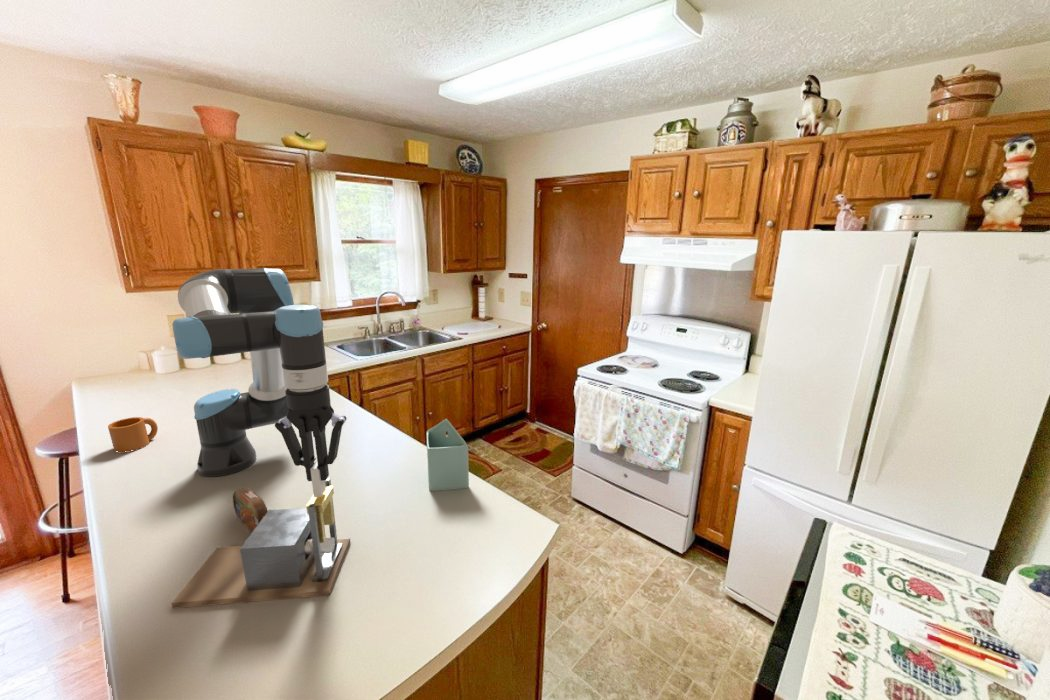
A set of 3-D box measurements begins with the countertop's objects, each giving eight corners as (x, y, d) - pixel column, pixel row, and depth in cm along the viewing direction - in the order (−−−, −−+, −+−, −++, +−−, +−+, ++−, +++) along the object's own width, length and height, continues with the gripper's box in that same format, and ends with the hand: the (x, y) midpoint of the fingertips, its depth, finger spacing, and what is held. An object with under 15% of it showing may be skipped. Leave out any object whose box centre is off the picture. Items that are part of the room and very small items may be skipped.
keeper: (311, 543, 84) (306, 506, 82) (322, 521, 91) (318, 486, 89) (326, 542, 85) (322, 505, 83) (336, 520, 91) (333, 485, 89)
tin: (234, 515, 107) (229, 486, 105) (247, 509, 109) (243, 481, 107) (259, 540, 98) (254, 509, 96) (273, 533, 101) (268, 503, 98)
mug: (164, 442, 143) (159, 418, 141) (117, 456, 134) (111, 431, 132) (157, 434, 149) (152, 411, 146) (111, 447, 139) (105, 423, 137)
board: (172, 608, 80) (171, 602, 79) (217, 552, 94) (217, 547, 94) (329, 595, 83) (328, 590, 83) (350, 543, 98) (349, 538, 97)
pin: (246, 573, 85) (242, 548, 83) (261, 552, 91) (257, 528, 89) (329, 567, 87) (326, 543, 85) (338, 546, 93) (335, 524, 91)
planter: (410, 481, 123) (406, 420, 118) (429, 470, 130) (427, 411, 125) (450, 500, 115) (448, 435, 110) (469, 487, 121) (468, 425, 116)
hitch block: (247, 590, 82) (233, 514, 78) (274, 548, 94) (264, 479, 89) (326, 584, 84) (316, 509, 80) (343, 543, 96) (336, 475, 91)
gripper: (261, 393, 75) (278, 506, 81) (336, 391, 77) (347, 502, 83) (279, 380, 82) (294, 484, 88) (347, 379, 84) (357, 481, 90)
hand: (320, 493), depth 85 cm, fingers closed
